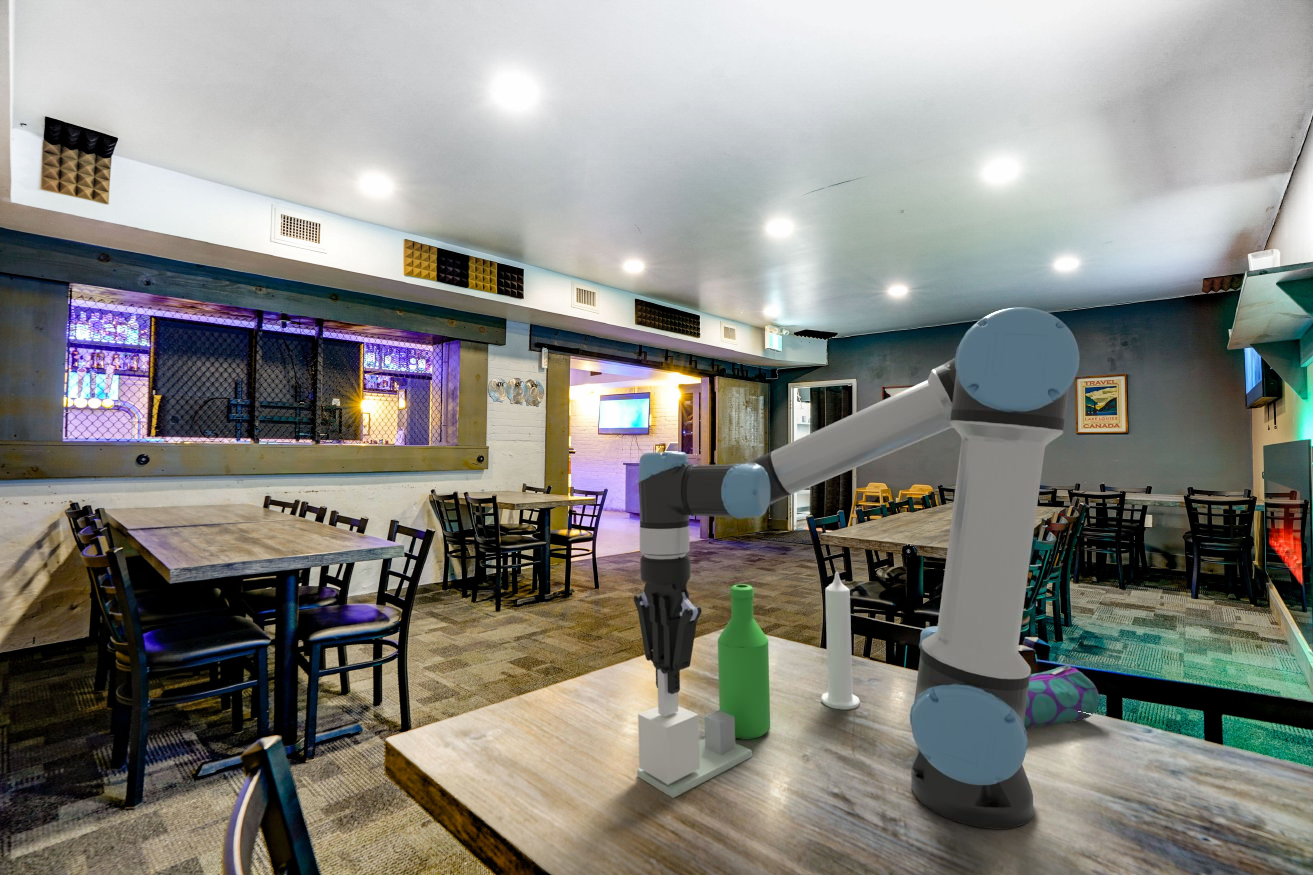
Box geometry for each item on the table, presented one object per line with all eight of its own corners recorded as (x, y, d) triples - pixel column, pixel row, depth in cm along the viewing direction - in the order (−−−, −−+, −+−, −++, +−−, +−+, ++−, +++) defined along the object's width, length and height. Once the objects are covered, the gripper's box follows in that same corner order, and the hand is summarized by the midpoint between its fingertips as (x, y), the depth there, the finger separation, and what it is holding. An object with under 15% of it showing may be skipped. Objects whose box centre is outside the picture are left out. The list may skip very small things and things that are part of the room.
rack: (751, 756, 98) (750, 718, 98) (673, 797, 86) (672, 755, 87) (715, 739, 104) (714, 703, 104) (637, 775, 92) (636, 735, 93)
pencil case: (1055, 706, 114) (1053, 654, 114) (1101, 726, 106) (1099, 670, 106) (963, 721, 109) (961, 667, 109) (1004, 744, 100) (1002, 685, 100)
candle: (863, 699, 119) (860, 570, 119) (854, 712, 113) (850, 576, 113) (827, 692, 123) (824, 567, 123) (816, 704, 117) (813, 573, 117)
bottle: (769, 743, 102) (766, 592, 102) (717, 739, 104) (714, 591, 104) (770, 720, 111) (767, 581, 111) (722, 716, 112) (719, 580, 113)
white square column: (699, 768, 91) (698, 714, 91) (667, 784, 87) (666, 727, 87) (670, 753, 96) (669, 701, 96) (639, 767, 92) (638, 713, 92)
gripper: (713, 556, 90) (717, 718, 89) (655, 546, 100) (658, 692, 99) (676, 563, 85) (679, 734, 84) (618, 552, 95) (621, 706, 94)
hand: (668, 712), depth 92 cm, fingers closed
